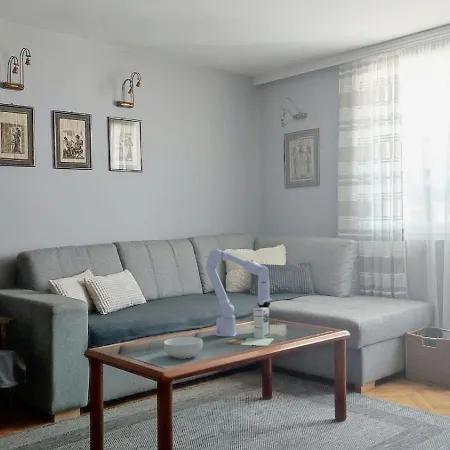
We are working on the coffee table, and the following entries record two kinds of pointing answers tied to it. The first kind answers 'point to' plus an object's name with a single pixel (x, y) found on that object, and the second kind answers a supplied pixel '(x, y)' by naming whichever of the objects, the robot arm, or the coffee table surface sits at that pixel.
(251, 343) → the mat
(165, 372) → the coffee table surface
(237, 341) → the cork coaster
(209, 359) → the coffee table surface
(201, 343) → the cereal bowl
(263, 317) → the syrup box
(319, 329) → the coffee table surface
